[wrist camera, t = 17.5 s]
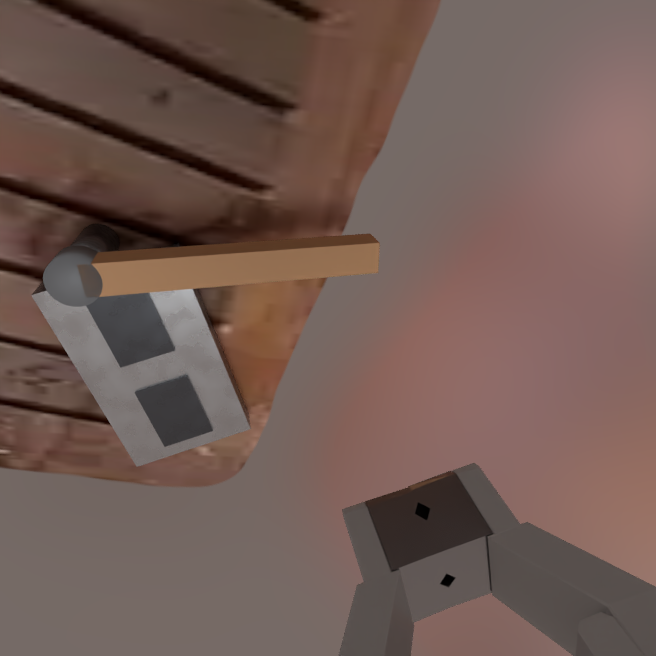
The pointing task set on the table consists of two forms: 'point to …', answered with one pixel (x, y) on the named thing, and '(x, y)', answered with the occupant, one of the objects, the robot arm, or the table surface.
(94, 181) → the table surface
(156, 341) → the block
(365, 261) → the swing bar
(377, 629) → the robot arm
